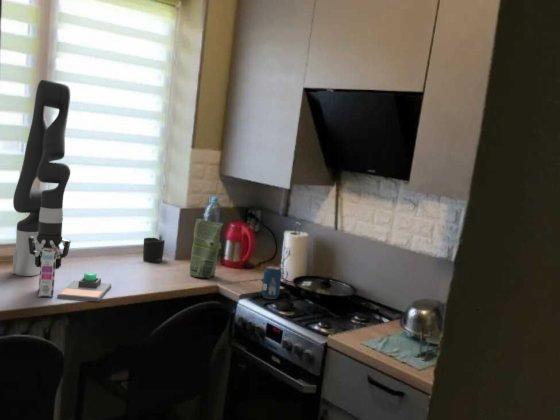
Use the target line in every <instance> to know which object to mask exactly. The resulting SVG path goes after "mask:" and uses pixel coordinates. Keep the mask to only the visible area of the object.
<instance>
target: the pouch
mask: <svg viewBox="0 0 560 420" xmlns="http://www.w3.org/2000/svg"><path fill="white" fill-rule="evenodd" d="M223 225H224V223H223V222H222V221H221V222H215V221H213V222H211V219H209V220H205V219H202V218H196V220H195V224H194V229H193V243H192V245H191V253H190V264H189V275H190V276H192V277H195V278H207V279H210V278H211V277H214V276H215V275H216V270H217V265H218V254H219V251H220V249H222V242H220V238H221V237H222V235H221V231H222V227H223Z"/></svg>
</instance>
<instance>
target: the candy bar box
mask: <svg viewBox="0 0 560 420" xmlns="http://www.w3.org/2000/svg"><path fill="white" fill-rule="evenodd" d="M56 258H57V257H56V249H52V248H44V247H43V248H42V249H41V263H40V274H39V281H38V292H37V293H38V295H37V297H38V298H53V297H54V290H55V281H56V280H55V279H56V277H55V276H56V269H55V266H56Z"/></svg>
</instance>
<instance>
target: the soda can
mask: <svg viewBox="0 0 560 420" xmlns="http://www.w3.org/2000/svg"><path fill="white" fill-rule="evenodd" d="M281 281H282V271H281V267H279V266H276V265H266V267H265V268H264V270H263V279H262V286H261V287H262V288H261V296H263V298H265V299H267V300H269V299H270V300H274V299H275V300H276V299H277V298H278V297H279V295H280V291H281V290H280V289H281Z"/></svg>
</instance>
